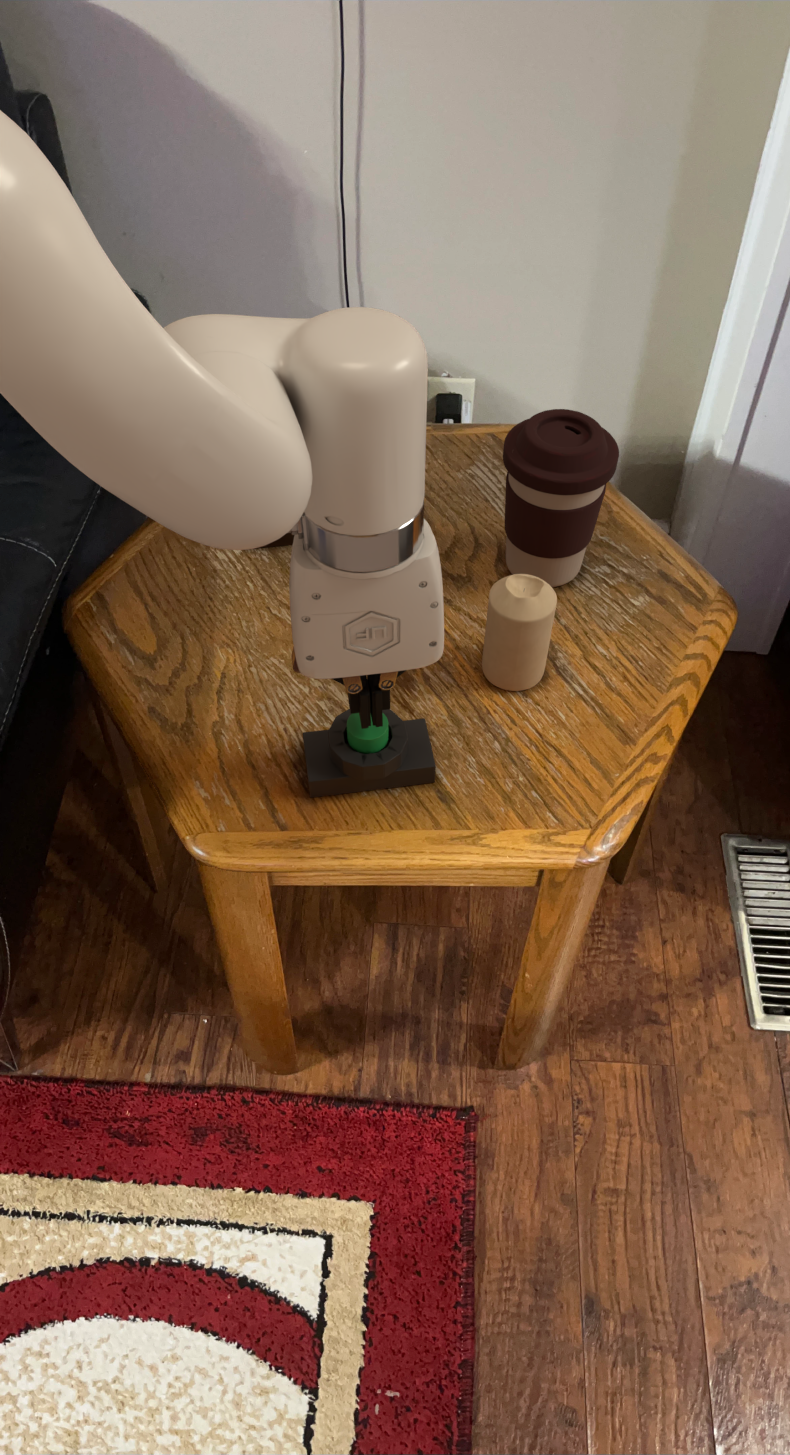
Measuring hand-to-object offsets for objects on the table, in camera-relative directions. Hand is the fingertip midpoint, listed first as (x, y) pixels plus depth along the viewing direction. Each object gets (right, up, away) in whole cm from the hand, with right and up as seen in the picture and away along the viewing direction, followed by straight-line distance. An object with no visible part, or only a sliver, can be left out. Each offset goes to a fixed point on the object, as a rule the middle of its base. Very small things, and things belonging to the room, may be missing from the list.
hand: (369, 713), depth 74 cm
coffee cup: (+16, +15, +21) cm, 30 cm away
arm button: (0, -2, +2) cm, 3 cm away
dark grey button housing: (0, -4, +5) cm, 7 cm away
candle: (+12, +4, +12) cm, 18 cm away
